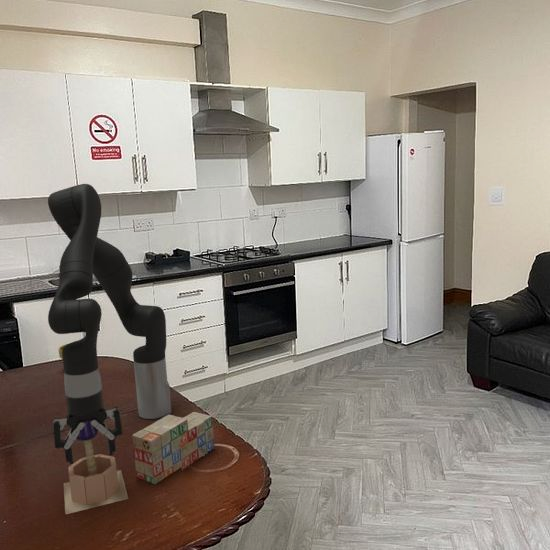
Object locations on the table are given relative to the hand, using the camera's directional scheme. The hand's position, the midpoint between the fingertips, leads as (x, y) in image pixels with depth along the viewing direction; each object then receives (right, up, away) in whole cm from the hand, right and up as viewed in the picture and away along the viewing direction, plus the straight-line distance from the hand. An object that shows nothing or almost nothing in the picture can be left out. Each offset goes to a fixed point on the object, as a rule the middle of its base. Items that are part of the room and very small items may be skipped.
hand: (91, 457), depth 123 cm
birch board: (0, -9, +2) cm, 9 cm away
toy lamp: (0, -7, +1) cm, 7 cm away
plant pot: (-33, +5, +82) cm, 89 cm away
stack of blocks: (+17, -7, +14) cm, 23 cm away
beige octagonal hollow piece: (0, -8, +2) cm, 8 cm away
